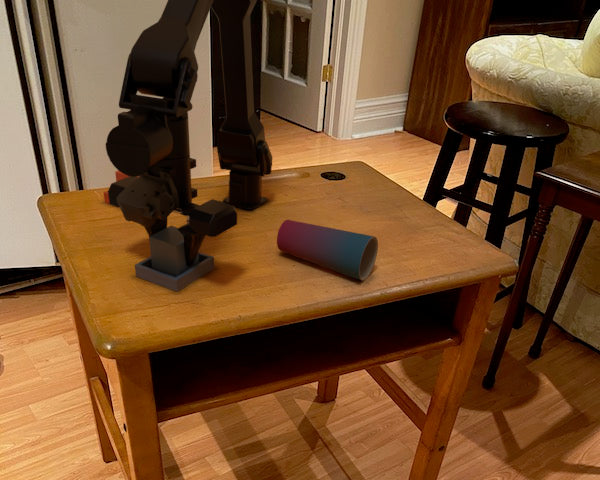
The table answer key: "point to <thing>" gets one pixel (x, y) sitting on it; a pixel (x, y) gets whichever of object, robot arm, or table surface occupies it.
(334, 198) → the table surface
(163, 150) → the robot arm
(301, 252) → the cup
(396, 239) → the table surface
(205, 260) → the blue tray
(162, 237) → the blue block
